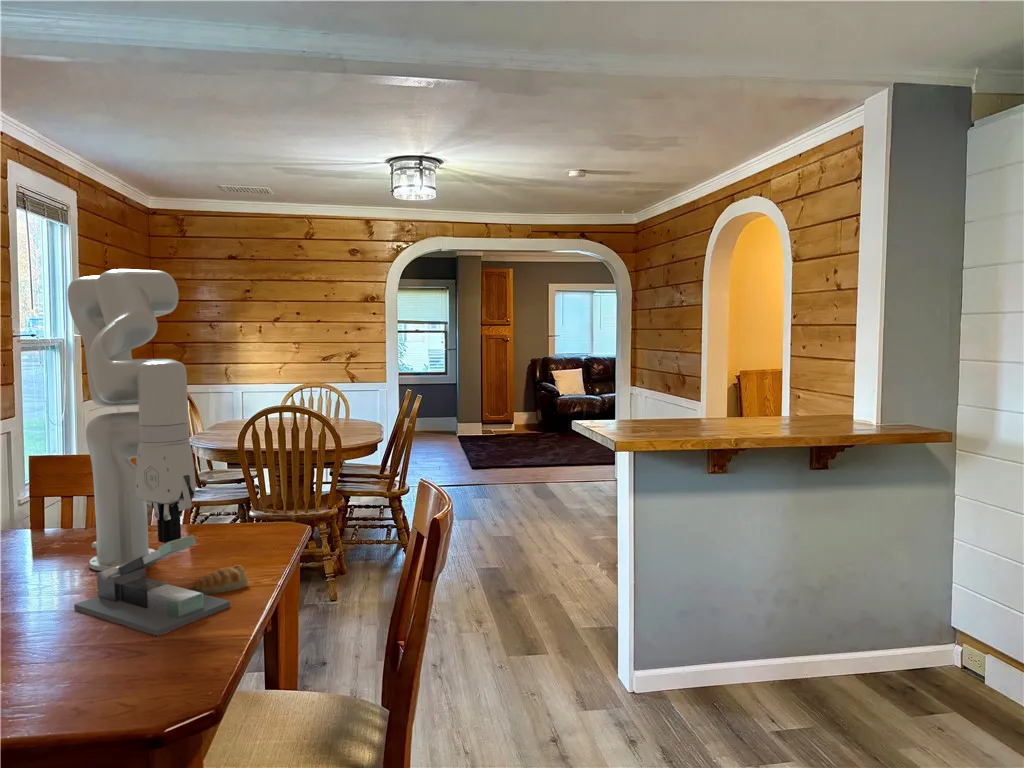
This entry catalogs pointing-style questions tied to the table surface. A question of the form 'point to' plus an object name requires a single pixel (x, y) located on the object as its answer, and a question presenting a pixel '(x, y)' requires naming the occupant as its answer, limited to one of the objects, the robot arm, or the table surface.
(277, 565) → the table surface
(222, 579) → the pastry
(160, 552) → the bar
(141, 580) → the stand
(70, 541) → the table surface
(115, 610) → the slate mat
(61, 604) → the table surface
